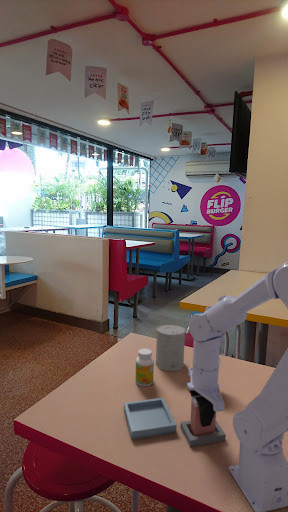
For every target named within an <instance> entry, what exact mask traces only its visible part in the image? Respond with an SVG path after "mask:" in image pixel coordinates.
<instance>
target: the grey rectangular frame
mask: <svg viewBox="0 0 288 512" xmlns="http://www.w3.org/2000/svg"><path fill="white" fill-rule="evenodd" d="M190 425H191V420H186V421H181V422H180V427H179V428H180V430H181V432H182V434H183V436H184V438H185V440H186V442H187V444H188V446H189V447H197V446H204V445H208V444H214V443H220V442H225V441H226V433H225V431H224V430H223V428H222V427H221V425H220V424H219V423H218V422H217V420H216V423H215V433H209V434H203V435H197V436H194V435H193V433H192V431H191V429H190Z"/></svg>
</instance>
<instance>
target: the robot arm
mask: <svg viewBox="0 0 288 512" xmlns="http://www.w3.org/2000/svg"><path fill="white" fill-rule="evenodd" d="M278 299H279V300H281V302H282V303H283V304H284V307H286V308H287V310H288V261H287V262H285V263H282V264H281V265H279V266H278V267H277V268H273V269H272V270H269V271H267V272H266V274H265V275H264V276H263V277H260V279H259V280H257V281H256V282H254V284H251V286H249V287H248V288H247V289H245V290H244V291H243V292H241V293H240V294H238V296H235V295H226V294H225V295H221V296H220V297H218V298H217V300H218V302H216V303H215V304H213V305H212V306H207V307H206V308H205V311H204V312H202V313H193V314H192V316H191V317H190V319H189V321H188V329H189V330H188V331H189V333H190V335H191V337H192V338H193V346H192V347H193V350H192V351H193V352H192V353H193V354H192V367H188V374H187V375H188V377H189V378H190V382H187V383H186V386H187V389H188V391H189V394H190V397H191V398H192V396H198V395H202V396H200V397H195V399H196V401H197V403H198V407H199V411H200V422H201V425H202V427H205V426H210V425H211V423H212V420H213V417H214V415H215V412H216V413H218V412H224V411H225V401H224V400H223V397H222V393H221V389H220V384H219V374H220V373H219V371H220V370H219V369H220V367H219V357H220V353H221V352H220V351H221V344H223V338H224V336H225V335H226V333H227V332H228V331H229V330H231V329H233V328H235V327H237V326H238V325H241V324H242V323H243V322H245V321H246V320H247V317H248V312H249V311H251V310H253V309H255V308H257V307H259V306H260V305H262V304H265V303H266V302H269V301H270V300H278ZM232 427H233V431H234V434H235V435H236V438H237V439H238V441H239V453H238V464H235V465H229V466H228V470H229V472H230V474H231V475H232V477H233V479H234V480H235V483H237V485H238V487H239V488H240V491H242V493H243V495H244V496H245V498H246V499H247V501H248V503H249V505H250V506H251V507H252V509H253V511H254V512H271V511H273V510H274V511H275V510H278V509H281V508H285V507H288V460H287V458H286V456H285V453H284V449H283V440H284V438H285V437H284V435H285V433H287V432H288V347H287V349H285V352H284V354H283V355H282V356H281V358H280V360H279V361H278V363H277V365H276V367H275V368H274V370H273V372H272V373H271V374H270V377H269V378H268V380H267V381H266V383H265V384H264V386H263V388H262V389H261V391H260V393H259V394H258V395H257V396H256V397H255V398H254V399H253V400H251V401H250V402H249V403H247V405H246V407H244V409H243V410H241V411H238V412H236V413H234V416H233V418H232Z"/></svg>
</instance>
